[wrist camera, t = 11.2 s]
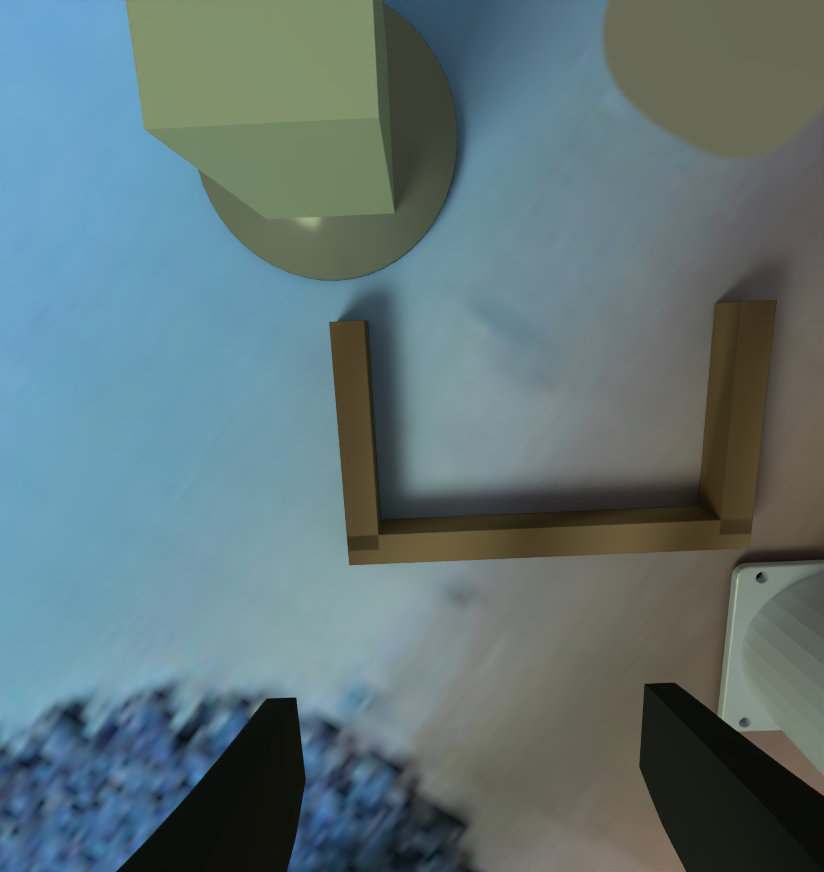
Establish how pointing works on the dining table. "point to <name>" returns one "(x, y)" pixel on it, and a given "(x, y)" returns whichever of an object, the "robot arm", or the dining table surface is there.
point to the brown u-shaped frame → (579, 530)
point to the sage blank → (272, 99)
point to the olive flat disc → (412, 179)
